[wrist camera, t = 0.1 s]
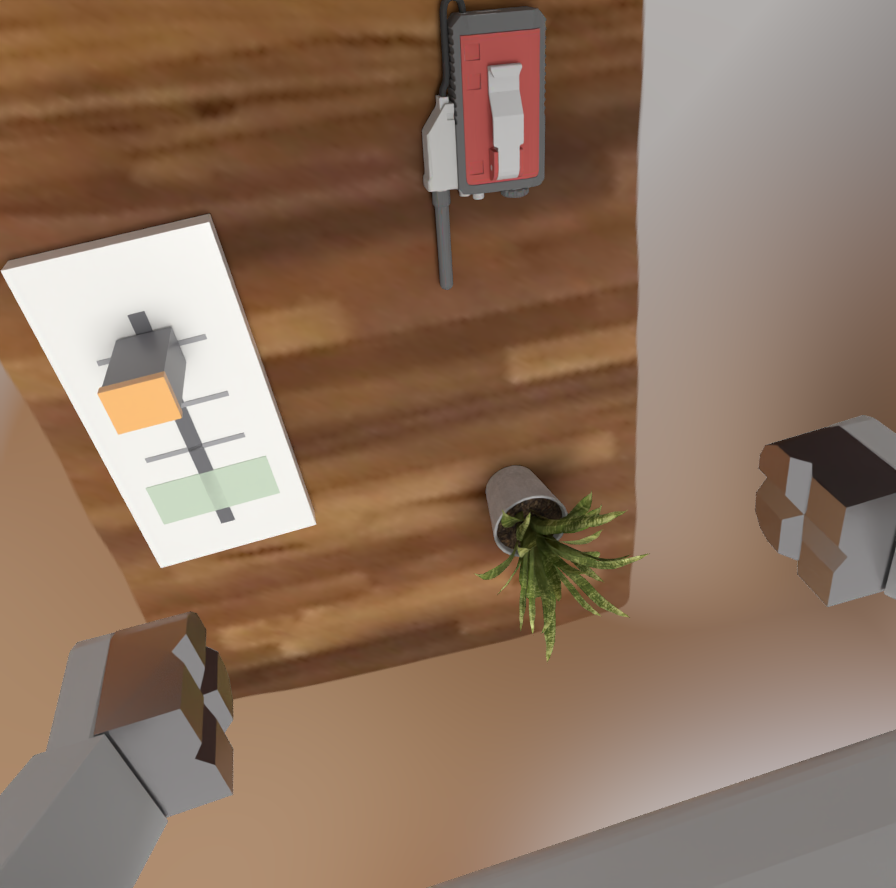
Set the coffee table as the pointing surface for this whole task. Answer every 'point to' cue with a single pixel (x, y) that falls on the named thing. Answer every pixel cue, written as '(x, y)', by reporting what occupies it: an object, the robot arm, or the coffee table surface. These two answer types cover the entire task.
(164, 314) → the console
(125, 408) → the fader knob
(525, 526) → the house plant
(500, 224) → the coffee table surface
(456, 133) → the red and grey tool
